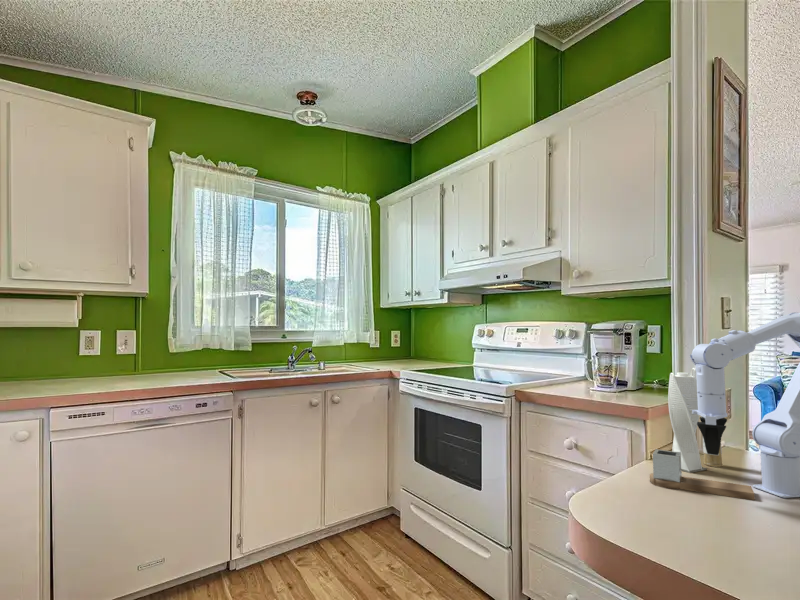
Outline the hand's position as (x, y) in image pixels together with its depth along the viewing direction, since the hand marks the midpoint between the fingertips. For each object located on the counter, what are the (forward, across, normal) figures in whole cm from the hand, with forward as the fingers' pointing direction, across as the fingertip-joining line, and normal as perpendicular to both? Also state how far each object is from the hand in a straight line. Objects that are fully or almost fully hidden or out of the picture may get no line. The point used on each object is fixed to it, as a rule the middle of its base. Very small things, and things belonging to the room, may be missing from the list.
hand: (713, 450), depth 111 cm
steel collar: (+8, +1, -10) cm, 13 cm away
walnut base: (+9, 0, -3) cm, 10 cm away
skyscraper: (+10, -17, -7) cm, 21 cm away
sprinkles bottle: (+10, -26, -1) cm, 27 cm away
